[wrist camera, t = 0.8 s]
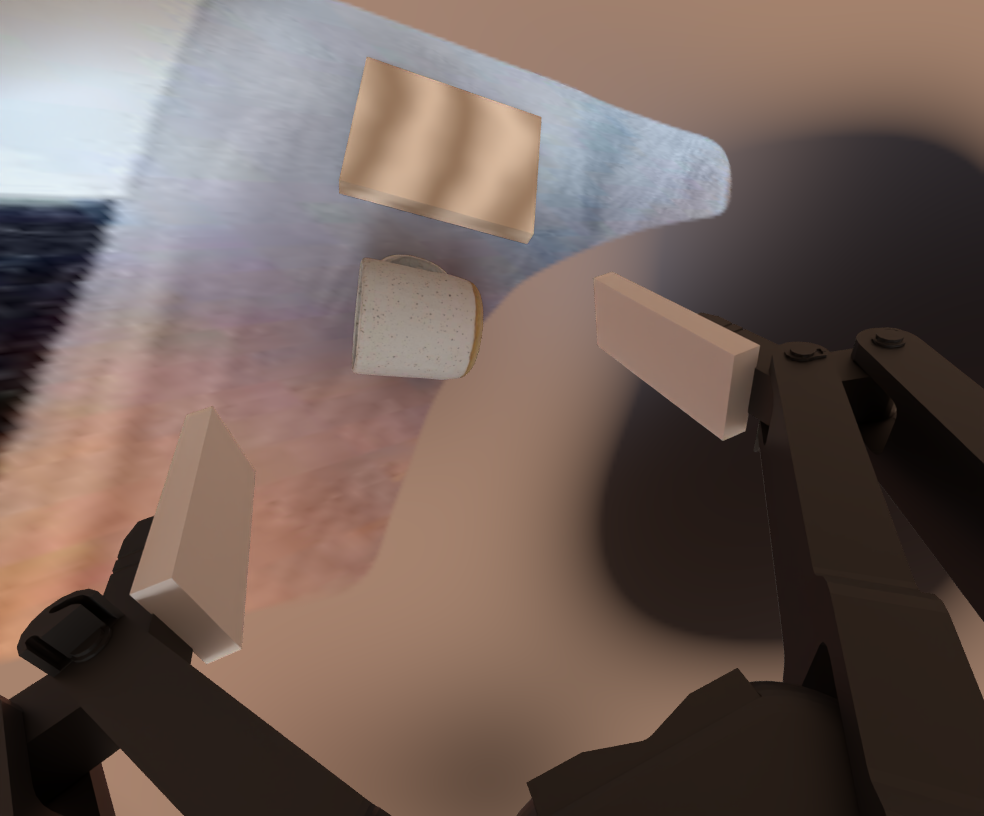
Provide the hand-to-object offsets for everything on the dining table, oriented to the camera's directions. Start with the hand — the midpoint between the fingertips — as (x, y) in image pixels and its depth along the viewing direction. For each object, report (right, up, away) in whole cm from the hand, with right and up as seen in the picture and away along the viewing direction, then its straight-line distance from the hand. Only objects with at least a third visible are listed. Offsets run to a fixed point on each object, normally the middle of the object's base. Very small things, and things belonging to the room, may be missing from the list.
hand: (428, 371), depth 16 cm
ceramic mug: (-5, +5, +20) cm, 21 cm away
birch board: (-2, +21, +26) cm, 33 cm away
